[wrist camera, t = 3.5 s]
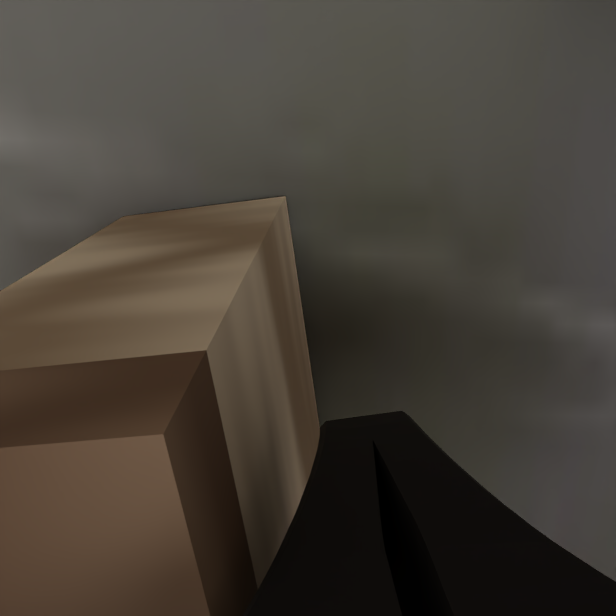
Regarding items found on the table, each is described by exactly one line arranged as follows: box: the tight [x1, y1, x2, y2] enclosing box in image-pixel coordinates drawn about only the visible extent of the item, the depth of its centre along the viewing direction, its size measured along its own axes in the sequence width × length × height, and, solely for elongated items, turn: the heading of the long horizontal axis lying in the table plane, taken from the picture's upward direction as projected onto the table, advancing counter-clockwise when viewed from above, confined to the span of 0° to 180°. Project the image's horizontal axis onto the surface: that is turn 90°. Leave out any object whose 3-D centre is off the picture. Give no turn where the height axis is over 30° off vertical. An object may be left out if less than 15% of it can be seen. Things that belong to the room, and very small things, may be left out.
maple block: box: [0, 196, 320, 616], centre depth 11 cm, size 4×7×10 cm, turn 8°
